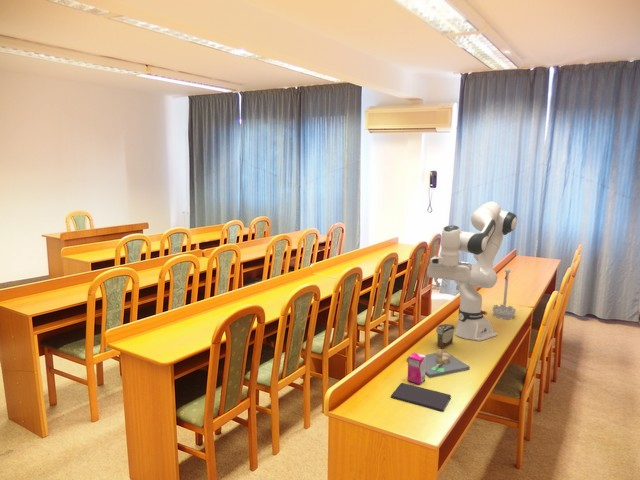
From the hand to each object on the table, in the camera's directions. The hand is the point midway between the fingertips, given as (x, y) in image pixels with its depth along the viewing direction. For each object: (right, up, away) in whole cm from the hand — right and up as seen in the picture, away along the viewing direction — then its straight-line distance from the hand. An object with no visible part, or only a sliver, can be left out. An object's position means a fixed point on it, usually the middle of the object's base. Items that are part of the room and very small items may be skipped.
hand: (447, 288), depth 230 cm
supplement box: (-20, -38, -22) cm, 48 cm away
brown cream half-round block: (+2, -31, +17) cm, 35 cm away
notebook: (-20, -41, -36) cm, 58 cm away
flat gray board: (-7, -35, -7) cm, 36 cm away
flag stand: (+50, -23, +61) cm, 83 cm away
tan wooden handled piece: (-6, -34, -10) cm, 36 cm away
